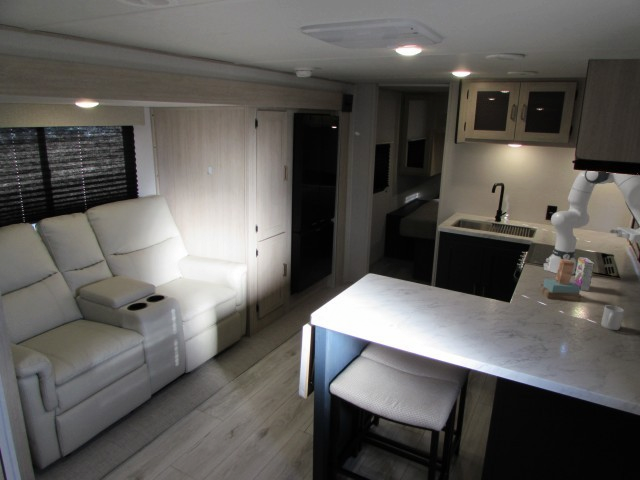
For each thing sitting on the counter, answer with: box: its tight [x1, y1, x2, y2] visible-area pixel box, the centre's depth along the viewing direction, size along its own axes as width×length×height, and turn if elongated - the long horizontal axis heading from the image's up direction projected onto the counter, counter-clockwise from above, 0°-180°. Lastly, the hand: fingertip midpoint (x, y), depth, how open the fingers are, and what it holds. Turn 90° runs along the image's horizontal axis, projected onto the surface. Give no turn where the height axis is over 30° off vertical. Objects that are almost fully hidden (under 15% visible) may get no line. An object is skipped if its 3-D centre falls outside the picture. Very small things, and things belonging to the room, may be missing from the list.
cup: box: [600, 304, 625, 331], centre depth 204 cm, size 7×10×9 cm
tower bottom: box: [539, 284, 582, 303], centre depth 243 cm, size 13×16×4 cm
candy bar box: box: [573, 256, 595, 292], centre depth 256 cm, size 11×5×16 cm, turn 168°
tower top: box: [542, 278, 581, 294], centre depth 242 cm, size 10×14×4 cm
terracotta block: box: [555, 259, 574, 285], centre depth 239 cm, size 5×5×12 cm
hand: (613, 233), depth 237 cm, fingers open, 8 cm apart
